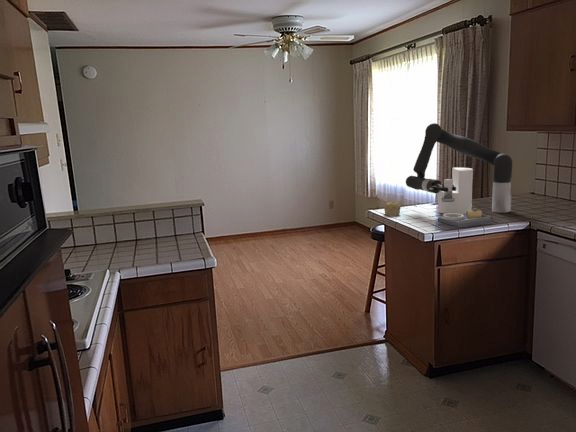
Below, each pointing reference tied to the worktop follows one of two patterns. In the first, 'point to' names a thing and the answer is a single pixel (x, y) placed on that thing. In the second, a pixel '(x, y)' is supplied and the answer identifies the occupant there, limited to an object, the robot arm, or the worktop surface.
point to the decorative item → (392, 208)
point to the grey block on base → (448, 195)
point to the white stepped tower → (458, 192)
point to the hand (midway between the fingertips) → (451, 189)
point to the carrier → (466, 218)
